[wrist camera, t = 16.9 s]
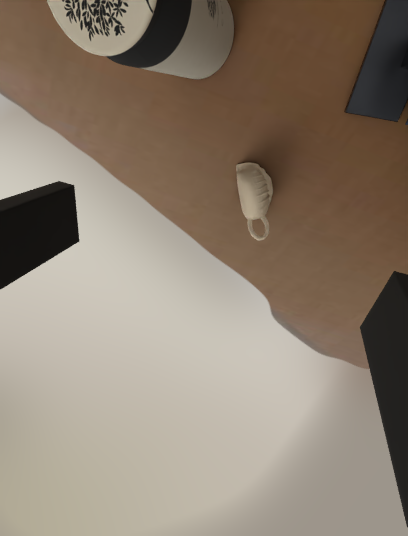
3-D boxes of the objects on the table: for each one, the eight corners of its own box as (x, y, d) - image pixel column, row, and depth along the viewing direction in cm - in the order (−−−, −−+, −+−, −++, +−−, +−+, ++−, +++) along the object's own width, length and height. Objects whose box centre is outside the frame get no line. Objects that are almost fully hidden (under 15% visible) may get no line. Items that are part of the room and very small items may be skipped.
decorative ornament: (269, 158, 34) (264, 166, 30) (275, 224, 38) (271, 240, 33) (236, 163, 36) (226, 171, 31) (245, 226, 39) (237, 242, 35)
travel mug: (172, 86, 34) (65, 74, 19) (155, -2, 30) (7, -103, 15) (239, 69, 31) (176, 39, 16) (229, -30, 27) (136, -186, 13)
